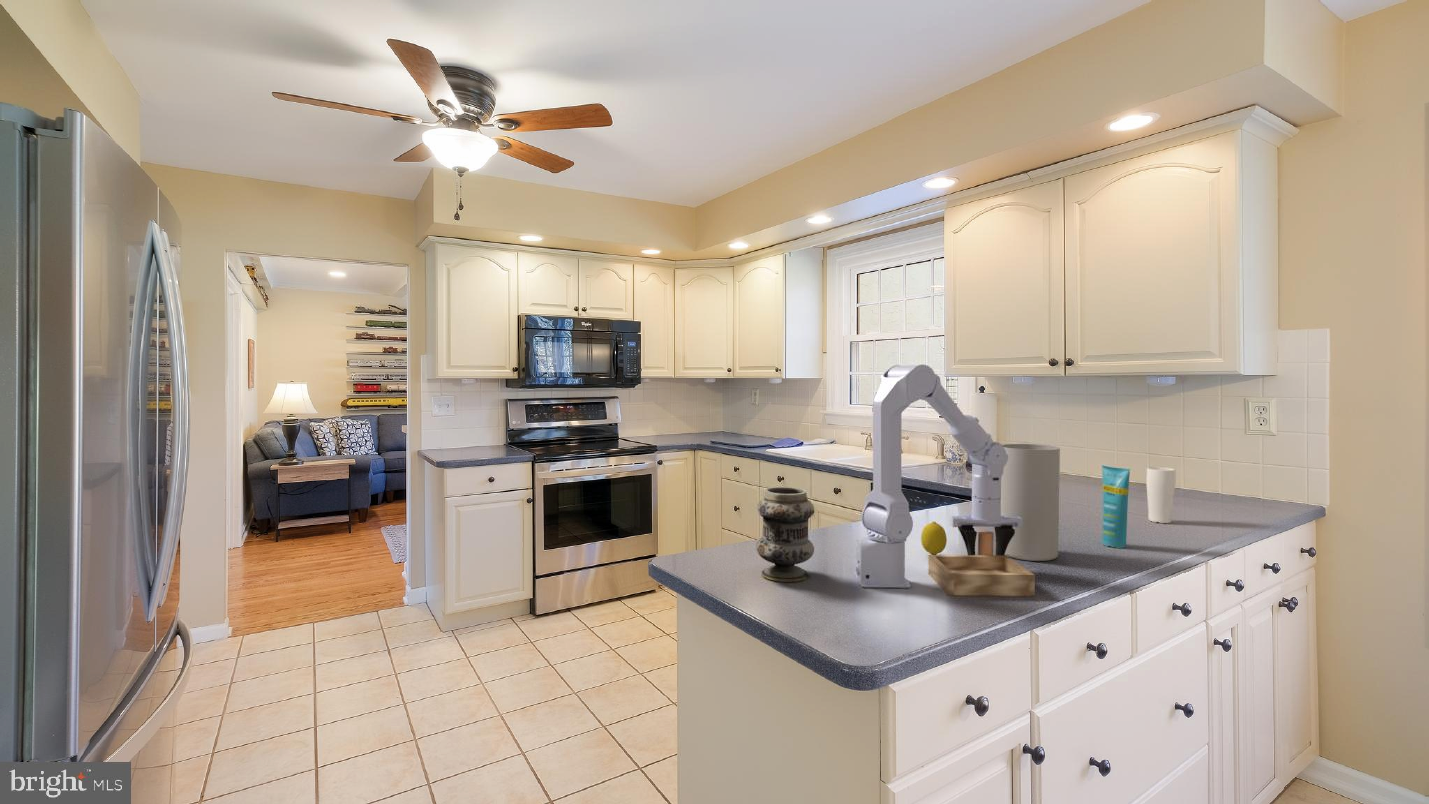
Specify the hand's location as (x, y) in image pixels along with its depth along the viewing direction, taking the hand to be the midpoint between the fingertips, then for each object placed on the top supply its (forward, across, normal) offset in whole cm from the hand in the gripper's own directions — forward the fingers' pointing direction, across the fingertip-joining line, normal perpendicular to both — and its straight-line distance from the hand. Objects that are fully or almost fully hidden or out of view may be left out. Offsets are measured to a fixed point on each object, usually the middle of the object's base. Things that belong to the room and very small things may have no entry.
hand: (985, 560), depth 138 cm
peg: (+2, 0, 0) cm, 2 cm away
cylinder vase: (+2, -14, -12) cm, 19 cm away
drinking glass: (+2, -65, -46) cm, 80 cm away
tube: (+2, -38, -20) cm, 43 cm away
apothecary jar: (+2, +43, +5) cm, 43 cm away
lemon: (+2, +8, -10) cm, 13 cm away
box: (+2, +5, +10) cm, 11 cm away
